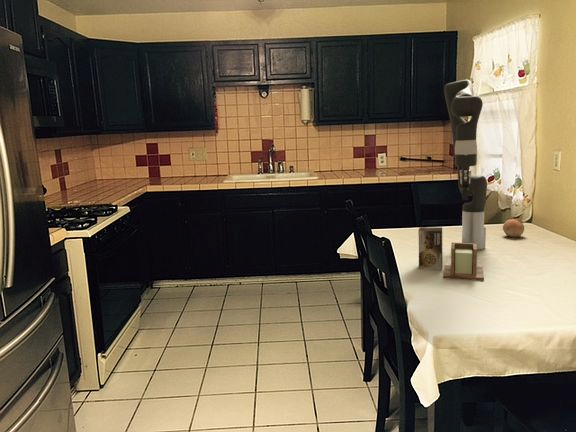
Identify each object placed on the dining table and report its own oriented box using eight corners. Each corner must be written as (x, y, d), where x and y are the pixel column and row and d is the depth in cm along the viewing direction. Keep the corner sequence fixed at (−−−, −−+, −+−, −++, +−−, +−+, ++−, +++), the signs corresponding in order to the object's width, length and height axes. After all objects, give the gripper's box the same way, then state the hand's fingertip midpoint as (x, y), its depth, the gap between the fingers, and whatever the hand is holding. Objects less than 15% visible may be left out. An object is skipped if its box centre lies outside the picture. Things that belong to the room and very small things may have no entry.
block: (455, 268, 185) (455, 248, 184) (471, 269, 183) (472, 249, 182) (454, 273, 180) (455, 252, 178) (471, 274, 178) (472, 253, 176)
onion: (519, 241, 236) (529, 223, 234) (517, 240, 228) (527, 222, 226) (500, 233, 240) (510, 215, 239) (497, 232, 233) (507, 213, 231)
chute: (444, 267, 190) (444, 240, 188) (482, 269, 186) (483, 242, 184) (443, 278, 178) (443, 249, 176) (484, 280, 173) (484, 251, 171)
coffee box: (442, 265, 193) (443, 227, 190) (442, 270, 187) (442, 230, 184) (419, 264, 196) (419, 226, 193) (418, 269, 190) (418, 229, 187)
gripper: (454, 151, 181) (454, 197, 184) (454, 154, 168) (454, 202, 171) (476, 151, 178) (475, 197, 181) (477, 153, 166) (476, 202, 169)
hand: (464, 199), depth 176 cm, fingers closed
